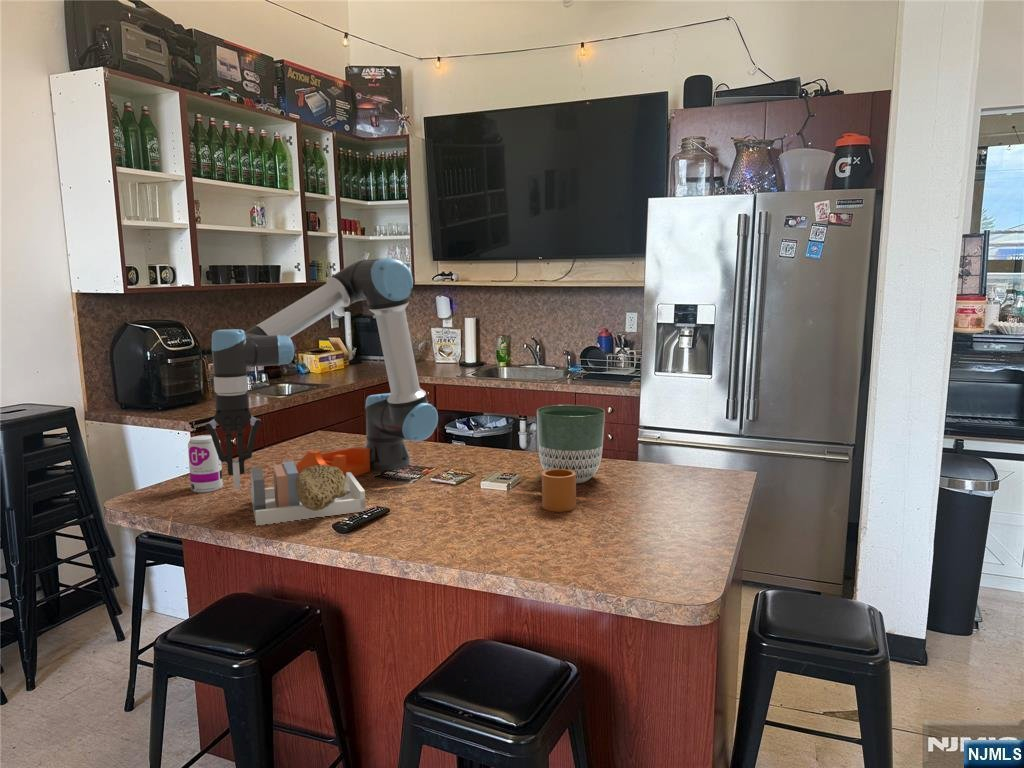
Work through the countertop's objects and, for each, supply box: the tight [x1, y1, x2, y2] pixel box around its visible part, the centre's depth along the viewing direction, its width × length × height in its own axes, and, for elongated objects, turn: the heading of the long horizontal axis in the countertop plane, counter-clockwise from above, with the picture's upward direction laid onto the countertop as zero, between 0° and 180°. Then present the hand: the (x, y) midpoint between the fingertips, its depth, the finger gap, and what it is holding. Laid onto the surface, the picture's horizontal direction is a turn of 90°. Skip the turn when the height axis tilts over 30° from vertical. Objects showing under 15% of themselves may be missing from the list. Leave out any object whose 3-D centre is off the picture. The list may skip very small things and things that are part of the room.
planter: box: [536, 404, 606, 485], centre depth 199 cm, size 20×20×21 cm
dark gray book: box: [250, 466, 266, 513], centre depth 173 cm, size 2×14×9 cm, turn 23°
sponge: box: [295, 465, 350, 511], centre depth 171 cm, size 13×8×20 cm
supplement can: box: [187, 434, 223, 494], centre depth 193 cm, size 8×8×15 cm
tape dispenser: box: [295, 446, 371, 478], centre depth 209 cm, size 18×13×8 cm
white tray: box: [250, 472, 366, 527], centre depth 178 cm, size 26×20×6 cm
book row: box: [272, 460, 300, 508], centre depth 176 cm, size 5×13×10 cm, turn 23°
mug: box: [541, 469, 577, 513], centre depth 179 cm, size 9×12×9 cm
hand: (237, 487), depth 171 cm, fingers closed
